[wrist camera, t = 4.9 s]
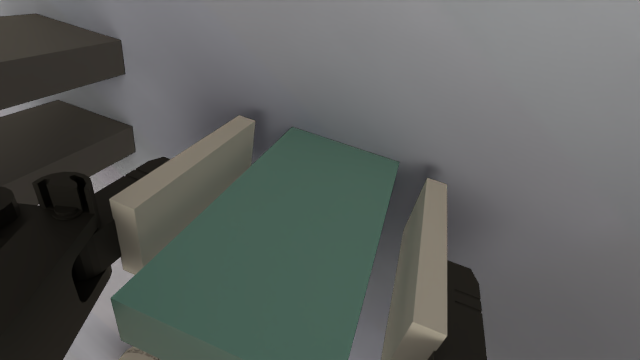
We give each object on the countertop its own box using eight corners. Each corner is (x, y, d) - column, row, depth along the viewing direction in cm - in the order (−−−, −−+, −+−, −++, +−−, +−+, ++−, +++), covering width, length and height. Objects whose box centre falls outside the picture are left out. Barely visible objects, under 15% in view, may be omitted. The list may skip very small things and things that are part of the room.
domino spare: (387, 191, 15) (320, 436, 7) (287, 156, 16) (121, 340, 8) (399, 162, 14) (336, 402, 6) (292, 127, 15) (110, 298, 7)
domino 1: (135, 151, 19) (-99, 278, 11) (64, 125, 20) (-204, 225, 12) (132, 126, 18) (-126, 243, 10) (57, 99, 19) (-237, 188, 11)
